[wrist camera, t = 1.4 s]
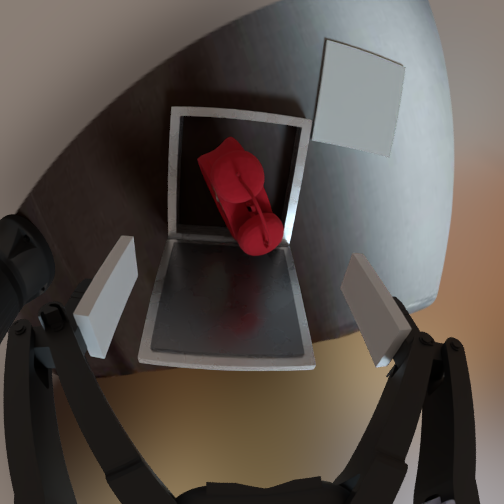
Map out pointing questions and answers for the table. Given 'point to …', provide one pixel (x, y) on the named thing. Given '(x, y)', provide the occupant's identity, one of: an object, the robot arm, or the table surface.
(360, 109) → the mat
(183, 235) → the case
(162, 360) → the lid
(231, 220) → the alarm clock
